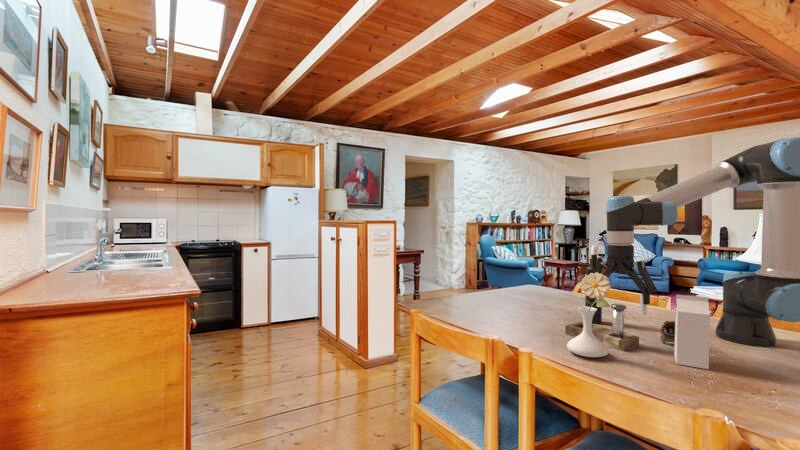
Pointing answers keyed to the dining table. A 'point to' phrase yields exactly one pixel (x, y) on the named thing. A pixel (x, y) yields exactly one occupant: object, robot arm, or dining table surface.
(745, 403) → the dining table surface
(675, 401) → the dining table surface
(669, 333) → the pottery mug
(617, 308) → the steel pin
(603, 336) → the wooden compartment tray
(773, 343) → the robot arm
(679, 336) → the milk carton
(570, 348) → the flower in vase
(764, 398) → the dining table surface
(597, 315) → the wine bottle
